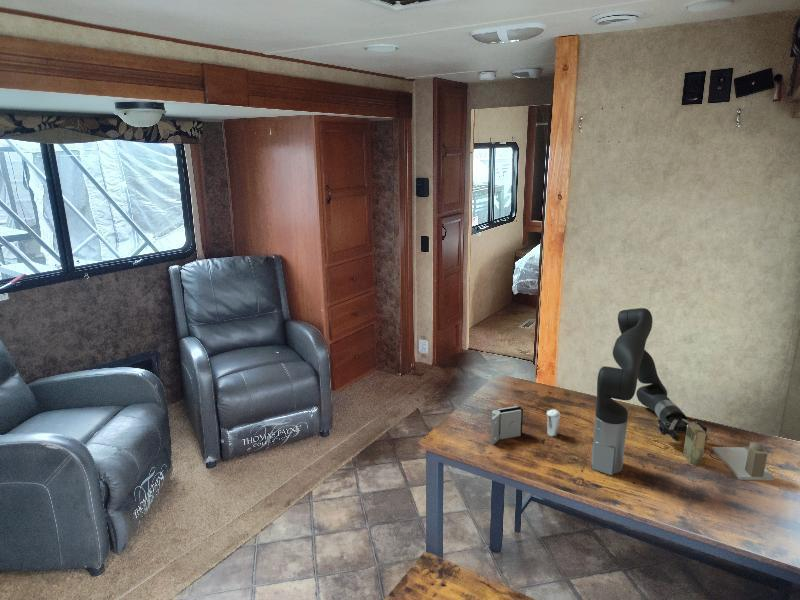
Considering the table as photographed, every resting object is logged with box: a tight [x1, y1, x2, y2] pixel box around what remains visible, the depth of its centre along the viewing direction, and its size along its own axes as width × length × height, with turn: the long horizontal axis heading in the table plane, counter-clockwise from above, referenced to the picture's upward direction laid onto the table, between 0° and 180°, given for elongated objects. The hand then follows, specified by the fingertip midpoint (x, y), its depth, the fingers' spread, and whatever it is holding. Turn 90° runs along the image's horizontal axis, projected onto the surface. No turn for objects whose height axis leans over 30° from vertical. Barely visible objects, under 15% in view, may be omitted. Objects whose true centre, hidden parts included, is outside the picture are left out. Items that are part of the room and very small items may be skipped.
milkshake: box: [544, 405, 561, 437], centre depth 187 cm, size 4×5×10 cm
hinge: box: [490, 405, 524, 446], centre depth 186 cm, size 14×5×10 cm, turn 118°
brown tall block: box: [682, 424, 707, 467], centre depth 169 cm, size 7×3×11 cm, turn 176°
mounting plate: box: [712, 441, 776, 481], centre depth 167 cm, size 16×10×10 cm, turn 176°
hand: (691, 439), depth 172 cm, fingers open, 8 cm apart
